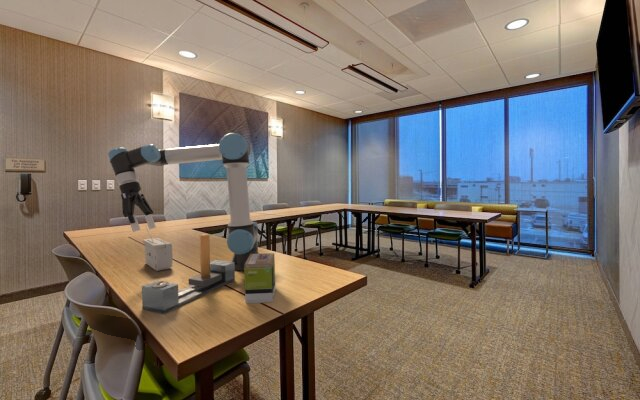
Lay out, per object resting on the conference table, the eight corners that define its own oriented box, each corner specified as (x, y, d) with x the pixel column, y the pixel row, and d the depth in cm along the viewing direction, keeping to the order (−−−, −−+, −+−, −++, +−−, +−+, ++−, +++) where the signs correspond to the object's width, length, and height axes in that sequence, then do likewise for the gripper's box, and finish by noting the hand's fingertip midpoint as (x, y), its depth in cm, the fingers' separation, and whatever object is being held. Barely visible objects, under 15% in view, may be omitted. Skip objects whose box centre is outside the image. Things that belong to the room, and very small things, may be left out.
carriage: (207, 277, 127) (206, 232, 125) (221, 279, 124) (221, 233, 122) (188, 284, 117) (187, 236, 116) (204, 287, 114) (203, 237, 113)
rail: (216, 277, 134) (216, 258, 133) (234, 280, 130) (234, 260, 129) (142, 309, 100) (141, 283, 100) (163, 314, 97) (162, 287, 96)
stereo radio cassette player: (173, 269, 146) (172, 229, 145) (155, 272, 141) (153, 231, 139) (160, 261, 161) (158, 224, 160) (143, 263, 155) (141, 226, 154)
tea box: (250, 288, 120) (250, 252, 119) (275, 288, 121) (275, 252, 120) (244, 304, 105) (243, 263, 104) (273, 303, 106) (272, 262, 105)
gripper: (135, 188, 141) (150, 230, 141) (101, 184, 116) (119, 235, 116) (151, 183, 141) (166, 224, 141) (120, 177, 117) (138, 228, 117)
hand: (145, 229), depth 129 cm, fingers open, 13 cm apart
